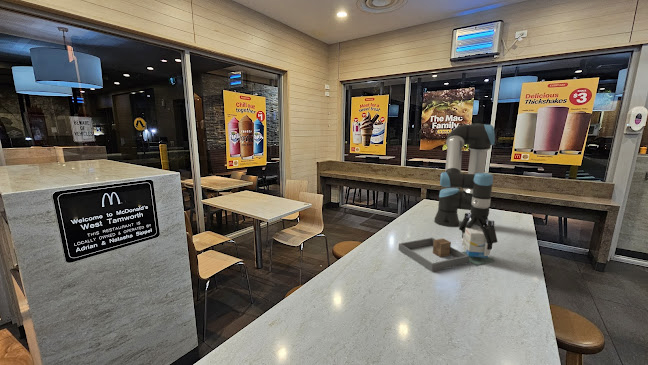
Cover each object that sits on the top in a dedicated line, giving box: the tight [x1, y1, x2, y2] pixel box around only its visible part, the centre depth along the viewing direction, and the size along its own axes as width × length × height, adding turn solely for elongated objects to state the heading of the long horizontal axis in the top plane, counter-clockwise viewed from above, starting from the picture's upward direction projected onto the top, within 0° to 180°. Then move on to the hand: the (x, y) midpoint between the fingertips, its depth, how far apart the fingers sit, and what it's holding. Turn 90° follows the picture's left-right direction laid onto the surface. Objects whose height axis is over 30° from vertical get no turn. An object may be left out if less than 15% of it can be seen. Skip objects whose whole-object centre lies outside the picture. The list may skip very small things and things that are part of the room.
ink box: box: [462, 226, 489, 258], centre depth 129 cm, size 9×8×12 cm
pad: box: [461, 251, 496, 267], centre depth 131 cm, size 12×12×1 cm
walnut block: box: [432, 238, 452, 258], centre depth 134 cm, size 5×6×7 cm
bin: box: [398, 237, 470, 273], centre depth 132 cm, size 24×22×4 cm
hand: (475, 250), depth 130 cm, fingers closed on ink box, 11 cm apart
